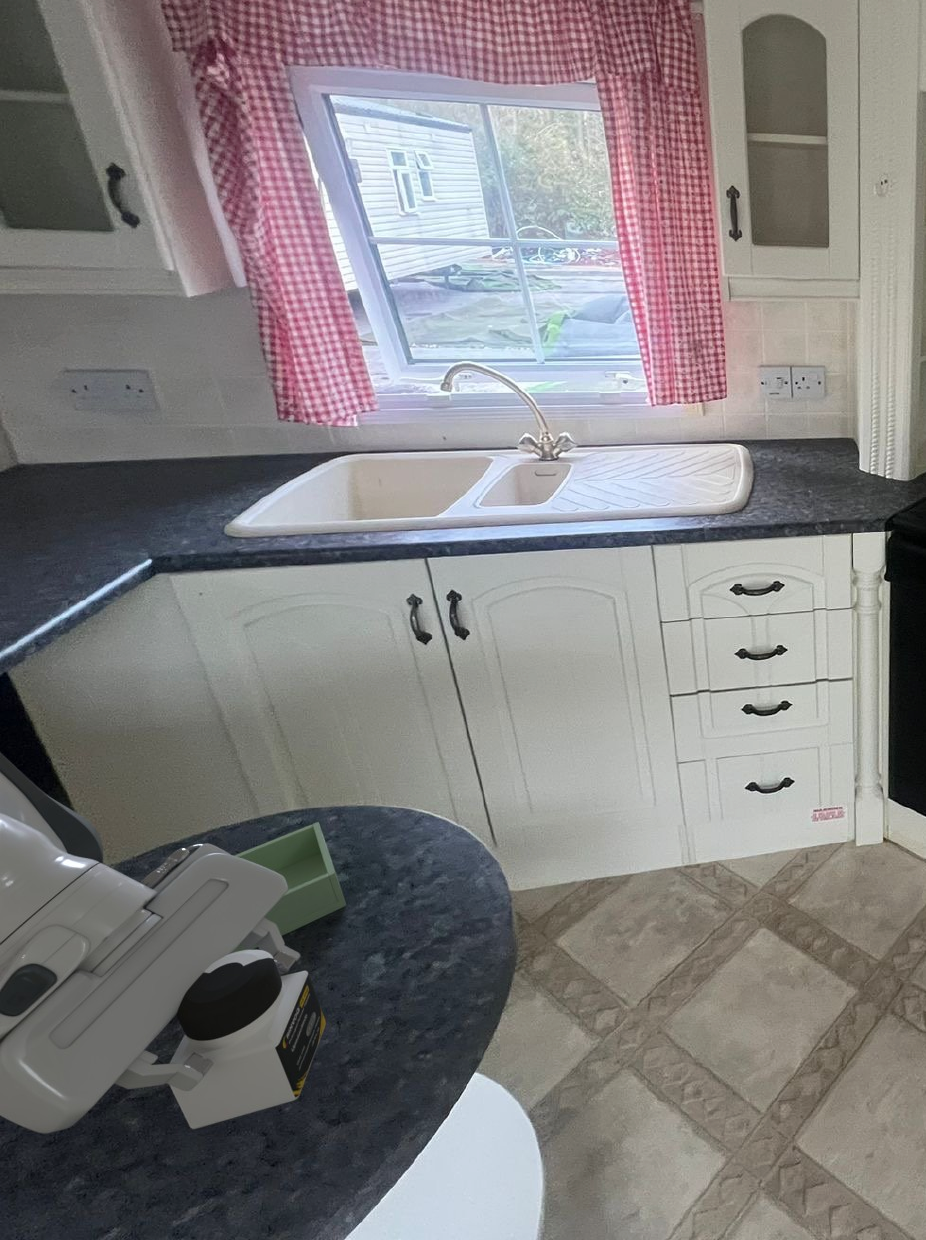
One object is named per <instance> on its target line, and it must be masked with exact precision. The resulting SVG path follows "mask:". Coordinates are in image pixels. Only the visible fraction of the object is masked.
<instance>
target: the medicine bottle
mask: <svg viewBox="0 0 926 1240" xmlns="http://www.w3.org/2000/svg"><path fill="white" fill-rule="evenodd" d="M175 1016H176V1018H177V1020H178V1022H179V1024H180V1026H181V1028H182V1030H183V1033H184V1035H183V1036H182V1039H181V1041H180V1043H179V1044H178V1047H177V1048H176V1050H175V1052H174V1054H173V1056H172V1058H171V1060H170V1062H169V1063H168V1064H172V1063H183V1062H184V1061H185V1060H186V1059H187V1058H188V1057H189V1056H191V1055H192V1054H193V1053H196V1054H199V1055H201V1056H202V1057H203V1059H210V1060H212V1062H213V1066H212V1067H211V1068H210V1070H209V1071H208V1072H207V1073H206V1075H205V1076H204V1077H203V1079H202V1080H201V1081H200V1082H199V1083H198V1084H197V1085H196V1086H195V1087H194V1088H193V1089H192V1090H191V1091H183V1090H181V1089H178V1088H176V1087H174V1086H171V1085H169V1087H170V1089H171V1091H172V1093H173V1095H174V1097H175V1100H176V1101H177V1104H178V1106H179V1107H180V1109H181V1112H182V1113H183V1116H184V1118H185V1120H186V1122H187V1124H188V1126H189V1128H190V1129H192V1130H196V1129H200V1128H204V1127H206V1126H210V1125H214V1124H217V1123H221V1122H224V1121H227V1120H231V1119H235V1118H239V1117H242V1116H245V1115H249V1114H252V1113H255V1112H260V1111H263V1110H266V1109H270V1108H273V1107H277V1106H280V1105H284V1104H286V1103H290V1102H293V1101H296V1100H298V1098H299V1097H300V1094H301V1093H302V1089H303V1087H304V1085H305V1082H306V1079H307V1076H308V1073H309V1072H310V1068H311V1065H312V1062H313V1060H314V1058H315V1055H316V1052H317V1049H318V1046H319V1044H320V1041H321V1039H322V1035H323V1033H324V1030H325V1028H326V1025H327V1021H326V1018H325V1016H324V1013H323V1010H322V1008H321V1005H320V1002H319V999H318V996H317V993H316V991H315V988H314V986H313V982H312V980H311V977H310V974H309V972H308V971H307V970H301V971H298V972H297V971H296V972H294V973H289V974H285V975H284V976H280V974H279V972H278V969H277V966H276V964H275V961H274V958H273V957H272V955H271V954H270V953H268V952H266V951H263V950H260V949H253V950H243V951H238V952H234V953H231V954H228V955H226V956H224V957H222V958H221V959H219V960H217V961H216V962H214V963H213V964H211V965H210V966H209V967H208V968H207V969H206V970H205V971H204V972H203V973H202V974H201V975H200V977H199V978H198V979H197V980H196V981H195V982H194V983H193V984H192V986H191V987H190V988H189V989H188V990H187V992H186V993H185V995H184V997H183V999H182V1001H181V1003H180V1006H179V1008H178V1011H177V1014H176V1015H175Z"/></svg>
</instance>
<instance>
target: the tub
mask: <svg viewBox="0 0 926 1240" xmlns="http://www.w3.org/2000/svg"><path fill="white" fill-rule="evenodd" d="M322 830H323V829H322V827H321V825H320V821H316V822H315V823H312V824H310V825H306V826H303V827H302V828H300V829H297V830H294V831H291V832H289V833H287V834H285V835H282V836H279V837H277V838H274V839H272V840H269V841H267V842H263V843H262V844H259V845H257V846H254V847H252V848H250V849H247V850H244V851H242V852H239V853H237V854H235V855H234V854H233V856H236V857H239V858H242V859H245V860H248V861H251V862H253V863H256V864H258V865H261V866H263V867H266V868H268V869H270V870H272V871H275V872H277V873H279V874H280V875H282V876H284V878H285V880H286V883H287V886H288V891H287V892H286V893H285V894H284V896H283V897H282V898H281V899H280V900H279V901H278V902H277V903H276V904H275V906H274V907H273V908H272V909H271V910H270V911H269V912H268V913H267V914H266V915H265V917H264V918H266V919H267V920H269V921H271V922H273V923H275V924H276V925H277V927H278V929H279V932H280V934H281V936H282V937H283V936H285V935H287V934H289V933H291V932H293V931H295V930H298V929H300V928H302V927H304V926H306V925H308V924H310V923H312V922H315V921H317V920H319V919H322V918H323V917H325V916H327V915H329V914H332V913H334V912H336V911H338V910H340V909H342V908H345V907H346V906H347V903H346V900H345V899H346V898H345V897H344V893H343V890H342V887H341V883H340V881H339V878H338V874H337V872H336V869H335V865H334V862H333V859H332V857H331V852H330V850H329V847H328V845H327V841H326V839H325V836H324V833H323V831H322ZM257 948H259V947H258V946H257V944H256V945H255V946H254V947H253V948H252V949H248V948H246V947H244V946H242V945H240V944H239V945H238V946H237V948H236V949H235V950H234V951H233V952H232V953H234V952H238V951H243V950H256V949H257Z"/></svg>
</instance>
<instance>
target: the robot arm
mask: <svg viewBox="0 0 926 1240" xmlns="http://www.w3.org/2000/svg"><path fill="white" fill-rule="evenodd" d="M103 846H104V845H103V840H102V837H101V835H100V833H99V831H98V830H97V828H96V827H95V826H94V825H93V824H92V822H90V821H89V820H88V819H86V818H85V817H83V816H82V815H80V814H79V813H77V812H75V810H72V809H71V808H69V807H67V806H66V805H63V804H62V803H61V802H59V801H58V800H55V799H54V798H53V797H50V796H49V795H48V794H47V793H45V792H44V791H43V790H42V789H41V788H39V787H38V786H37V785H36V784H35V783H34V782H33V781H32V780H30V778H28V776H27V775H25V774H24V773H23V772H22V771H21V770H20V769H18V767H16V765H15V764H13V763H12V762H11V761H10V760H9V759H8V758H7V757H6V756H5V755H4V754H3V753H1V752H0V1116H1V1117H2V1118H3V1119H6V1120H7V1121H9V1122H12V1123H14V1124H16V1125H18V1126H20V1127H23V1128H25V1129H27V1130H30V1131H33V1132H35V1133H39V1134H50V1133H54V1132H59V1131H62V1130H67V1129H69V1128H71V1127H73V1126H75V1124H76V1123H78V1122H79V1121H80V1120H81V1119H82V1118H83V1117H84V1116H86V1114H87V1113H88V1112H89V1111H90V1110H91V1109H92V1108H93V1107H94V1106H95V1105H96V1104H97V1103H98V1102H99V1100H100V1099H101V1098H102V1097H104V1095H105V1094H106V1093H107V1092H108V1091H109V1089H111V1087H112V1086H113V1085H116V1086H119V1087H121V1088H124V1089H126V1090H133V1089H141V1088H149V1087H155V1086H163V1085H165V1084H167V1085H169V1086H170V1085H171V1086H174V1087H176V1088H178V1089H181V1090H183V1091H191V1090H192V1089H193V1088H194V1087H195V1086H196V1085H197V1084H198V1083H199V1082H200V1081H201V1080H202V1079H203V1077H204V1076H205V1075H206V1073H207V1072H208V1071H209V1070H210V1068H211V1067H212V1066H213V1062H212V1060H210V1059H203V1057H202V1056H201V1055H199V1054H196V1053H193V1054H192V1055H191V1056H189V1057H188V1058H187V1059H186V1060H185V1061H184V1062H183V1063H172V1064H169V1063H160V1064H159V1063H158V1064H154V1063H155V1062H156V1061H157V1060H158V1058H159V1056H158V1055H157V1054H154V1053H152V1052H150V1051H148V1050H146V1049H147V1048H148V1046H149V1045H150V1044H151V1043H152V1042H153V1041H154V1039H155V1038H156V1037H158V1035H159V1034H160V1033H161V1032H162V1031H163V1030H164V1028H166V1026H168V1024H169V1023H170V1022H171V1021H172V1020H173V1019H174V1018H175V1016H176V1014H177V1011H178V1008H179V1006H180V1003H181V1001H182V999H183V997H184V995H185V993H186V992H187V990H188V989H189V988H190V987H191V986H192V984H193V983H194V982H195V981H196V980H197V979H198V978H199V977H200V975H201V974H202V973H203V972H204V971H205V970H206V969H207V968H208V967H209V966H210V965H211V964H213V963H214V962H216V961H217V960H219V959H221V958H222V957H224V956H226V955H228V954H231V953H232V952H233V951H234V950H235V949H236V948H237V946H238V945H239V944H240V945H242V946H244V947H246V948H248V949H252V948H253V947H254V946H255V945H256V944H257V946H258V947H257V948H258V950H263V951H266V952H268V953H270V954H271V955H272V957H273V958H274V961H275V964H276V966H277V969H278V972H279V974H280V976H284V975H287V974H288V973H289V972H290V971H291V969H292V968H293V967H294V966H295V964H296V963H297V962H298V961H299V959H300V958H301V954H300V953H299V952H298V951H296V950H295V949H292V948H290V947H289V946H287V945H285V944H286V943H285V940H284V938H283V936H281V934H280V932H279V929H278V927H277V925H276V924H275V923H273V922H271V921H269V920H267V919H266V918H264V917H265V915H266V914H267V913H268V912H269V911H270V910H271V909H272V908H273V907H274V906H275V904H276V903H277V902H278V901H279V900H280V899H281V898H282V897H283V896H284V894H285V893H286V892H287V891H288V886H287V883H286V880H285V878H284V876H282V875H280V874H279V873H277V872H275V871H272V870H270V869H268V868H266V867H263V866H261V865H258V864H256V863H253V862H251V861H248V860H245V859H242V858H239V857H236V856H234V854H233V855H232V854H230V852H227V851H225V850H224V849H222V848H220V847H218V846H216V845H214V844H211V843H198V844H193V845H191V846H188V847H186V848H185V847H184V848H183V847H181V848H179V849H176V850H175V851H173V852H172V853H171V854H170V855H169V856H168V857H166V859H165V860H164V862H163V863H161V864H160V865H159V866H158V867H157V868H155V869H154V870H153V871H150V872H149V874H147V875H146V876H145V877H144V878H142V879H141V880H140V881H137V880H135V879H134V878H131V877H129V876H128V875H126V874H124V873H122V872H120V871H118V870H116V869H114V868H112V867H110V866H108V865H106V864H105V863H104V847H103ZM192 851H194V852H192ZM190 852H192V853H190Z"/></svg>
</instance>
